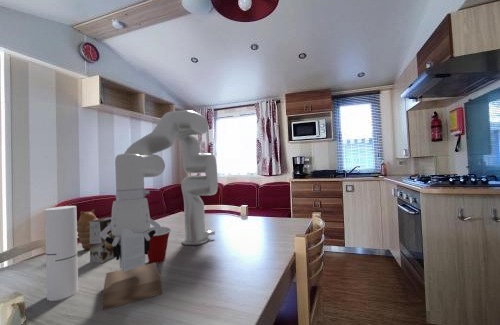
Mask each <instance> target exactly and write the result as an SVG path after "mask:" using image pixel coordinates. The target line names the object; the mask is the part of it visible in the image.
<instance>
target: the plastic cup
mask: <svg viewBox="0 0 500 325" xmlns="http://www.w3.org/2000/svg"><path fill="white" fill-rule="evenodd" d="M153 228H154V226H150V229H149V231H147V232H148V233H149V232H150V231H151V230H152V229H153ZM171 231H172V228H170V227H169V226H162V225H160V228H159V229H158V230H157V231H156V232H155V234H154V235H153V236H152V237H151V239H150V240H149V245H150V250H148V251H147V259H148V262H149V264H151V263H156V264H158V263H161V262H164V261H165V260H166V255H167V250H168V248H167V247H168V241H169V237H170V233H171ZM144 239H145V237H144Z"/></svg>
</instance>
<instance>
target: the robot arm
mask: <svg viewBox="0 0 500 325" xmlns="http://www.w3.org/2000/svg"><path fill="white" fill-rule="evenodd" d="M208 129H209V122H208V120H207V118H206V116H204V115H203V114H200V113H198V112H196V111H194V110H188V109H186V110H183V109H182V110H174V111H173V110H172V111H168V112H166V113H164V114H163V115H162V116H161V118H160V120H159V121H158V123H157V124H156V126H154V129H153V130H152V131H151V132H149V133H148V134H146V135H145V136H143V137H141V138H140V139H138V140H136V141H135V142H133V143H132V144H131V145H129V146H128V148H127V149H126V151H125V152H124V153H121V154H117V155H116V156H115V158H114V159H115V161H114V166H115V168H114V169H115V172H114V174H115V200H113V202H112V206H111V216H110V217H111V223H110V224H109V225H108V226H107V227H106V228H105V229H104V230H103V231H101V232H100V234H99V235H100V236H101V237H102V238H103V239H105V240H106V241H107V242H108V243H110V244H111V245H112V246H113V257H114V258H115V259H116V261H119V260H120V259H119V244H118V241H119V239H120V237H121V229H124V228H129V229H130V230H131V231H132V232H133V233H143V234H144V237H145V239H144V246H145V256H146V255H147V251H148V250H150V245H149V240H150V239H151V237H152V236H153V235H154V234H155V232H156V231H157V230H158V229H159V228H160V226H161V224H160V223H158V222H156V221H155V220H154V219H152V218H151V216H150V208H149V202H148V198H146V196H148V195H150V189H148V190H147V189H145V178H155V177H159V176H160V175H162V174H163V173H164V171H165V168H166V163H165V160H164V159H163V157H161V156H160V155H159V154H158V155H157V154H156V153H160V152H163V151H165V150H167V149H169V148H170V147H172V146H173V145H174V142H175V140H177V139H178V140H179V142H180V145H181V151H182V152H181V154H182V165H183V167H182V168H183V170H184V172H185V173H188V174H205V175H191V176H190V175H189V176H186V177H184V178H183V179H182V181H181V183H180V187H181V192H182V197H183V209H184V211H183V214H184V238H182V240H181V243H182V244H183V245H185V246H195V245H196V246H197V245H202V244H205V243H207V242H208V241H209V238H210V236H213V235H216V232H215V230H212V231H211V230H208V231H207V230H206V223H205V220H206V218H205V216H206V215H205V203H204V201H203V199H202V198H201V196H214V195H216V194H217V192H218V189H219V187H218V186H219V183H218V181H219V180H218V167H217V166H218V165H217V158H216V157H215V155H214V154H213V153H210V152H201V144H200V141H199V139H197V137H196V136H197V135H204V134H206V133H207V132H208ZM151 226H152V227H154V228H153V229H152V230H151V231H150V232H149V233H148V232H147V231H149V229H150V228H151ZM110 230H111V231H112V235H113V236H115V237H114V239H113V238H112V237H110V236H109V235H108V234H107V232H109V231H110ZM147 256H148V255H147Z"/></svg>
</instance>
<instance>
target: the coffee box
mask: <svg viewBox="0 0 500 325" xmlns="http://www.w3.org/2000/svg"><path fill="white" fill-rule="evenodd" d="M111 217H112V216H107V217H102V218H98V219H97V220H93V221H90V249H89V262H90V263H99V264H103V263H105V262H107V261H110V260H111V259H114V258H115V257H113V246H112V245H111V244H110V243H108V242H107V241H106V240H105V239H103V238H102V237H101V236H100V235H99V234H100V232H101V231H103V230H104V229H105V228H106V227H107V226H108V225H109V224H110V223H111ZM107 234H108V235H109V236H110V237H112V238H113V239H114V237H115V236H113V235H112V231H111V230H110V231H109V232H107ZM118 244H119V241H118Z"/></svg>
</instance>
